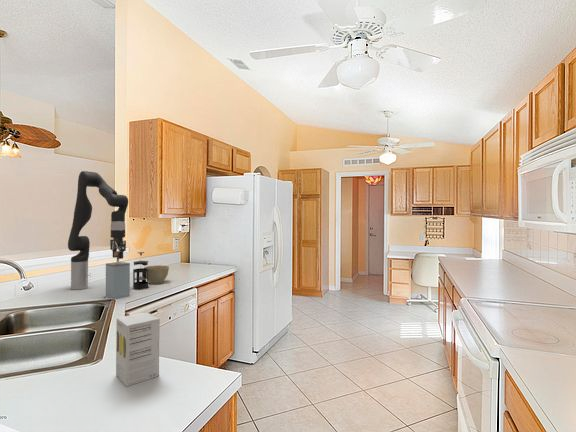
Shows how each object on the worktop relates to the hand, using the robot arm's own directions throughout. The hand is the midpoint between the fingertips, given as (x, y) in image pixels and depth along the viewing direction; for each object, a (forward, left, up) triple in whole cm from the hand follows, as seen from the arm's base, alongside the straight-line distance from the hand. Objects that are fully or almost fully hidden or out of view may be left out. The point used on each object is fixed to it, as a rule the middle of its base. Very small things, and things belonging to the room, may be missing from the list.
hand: (117, 258), depth 187 cm
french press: (-11, +20, -22) cm, 32 cm away
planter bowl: (-18, +35, -22) cm, 45 cm away
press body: (0, 0, -22) cm, 22 cm away
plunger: (0, 0, -20) cm, 20 cm away
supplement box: (+99, -41, -22) cm, 109 cm away
